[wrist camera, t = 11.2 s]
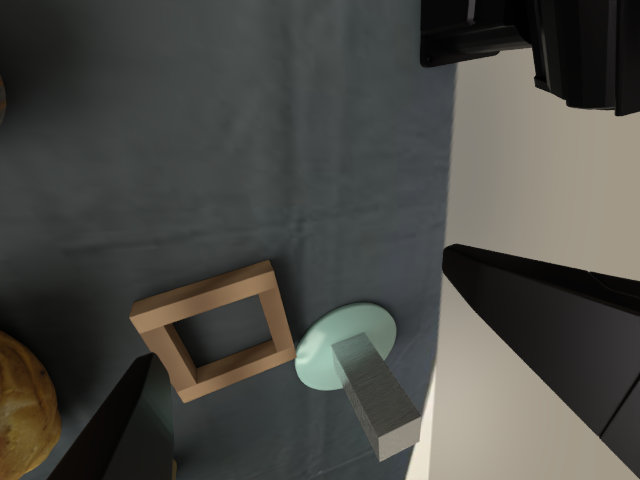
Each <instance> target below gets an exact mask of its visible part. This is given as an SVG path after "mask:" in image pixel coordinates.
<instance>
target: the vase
mask: <svg viewBox="0 0 640 480" xmlns="http://www.w3.org/2000/svg"><path fill="white" fill-rule="evenodd" d="M5 111H6V93H5V88H4V84H3V81H2V78H1V75H0V126H1V124H2V121H3V119H4V116H5Z"/></svg>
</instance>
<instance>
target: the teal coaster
mask: <svg viewBox="0 0 640 480" xmlns="http://www.w3.org/2000/svg"><path fill="white" fill-rule="evenodd" d="M363 332H365V334H366V335H367V337H368V338H369V340H370V341H371V343H372V344H373V346H374V347H375V349H376V350H377V351H378V353H379V354H380V356H381V357H382V359H383V360H385V359H386V357H387V356H388V354H389V353H390V351H391V349H392V347H393V345H394V342H395V338H396V325H395V322H394V320H393V318H392V317H391V315H390V314H389V313H388V312H387V311H386V310H385V309H384V308H383V307H381V306H379V305H376V304H373V303H368V302H360V303H352V304H348V305H345V306H341V307H339V308H337V309H334V310H332V311H331V312H329V313H327V314H325V315H324V316H322V317H321V318H320V319H318V320H317V321H316V322H315V323H314V324H313V325H312V326H311V327H310V328H309V329H308V330H307V331H306V332H305V334H304V335H303V337H302V338H301V340H300V342H299V344H298V346H297V349H296V355H297V358H295V359H294V363H295V368H296V371H297V374H298V376H299V378H300V379H301V381H302V382H303V383H304V384H306V385H307V386H309V387H311V388H314V389H318V390H335V389H340V388H343V386H342V384H341V382H340V380H339V378H338V375H337V373H336V371H335V369H334V364H333V357H332V351H331V345H332V344H335V343H337V342H340V341H342V340H345V339H347V338H350V337H352V336H355V335H357V334H360V333H363Z"/></svg>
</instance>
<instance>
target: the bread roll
mask: <svg viewBox="0 0 640 480" xmlns="http://www.w3.org/2000/svg"><path fill="white" fill-rule="evenodd" d="M60 435H61V417H60V414H59V411H58V408H57V397H56V392H55V387H54V385H53V383H52V381H51V379H50V377H49V375H48V373H47V371H46V369H45V367H44V366H43V364H42V363H41V362H40V361H39V360H38V359H37V358H36V356H35V355H34V354H33V353H32V352H31V351H30V350H29V349H28V348H27V346H25V345H23V344H21V343H20V342H19V341H17V340H16V339H15V338H13V337H11V336H10V335H8V334H6V333H5V332H3V331H1V330H0V480H18V479H19V478H20V477H21V476H22V475H23V474H24V473H26V472H29V471H31V470H33V469H34V468H35V467H37V466H38V465H40V464H41V463H42V462H43V461H44V460H45V459H46V458H47V456H48V455H49V453H50V452H51V450H52V449H53V447H54V446H55V445H56V444H57V442H58V441H59V438H60Z"/></svg>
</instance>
